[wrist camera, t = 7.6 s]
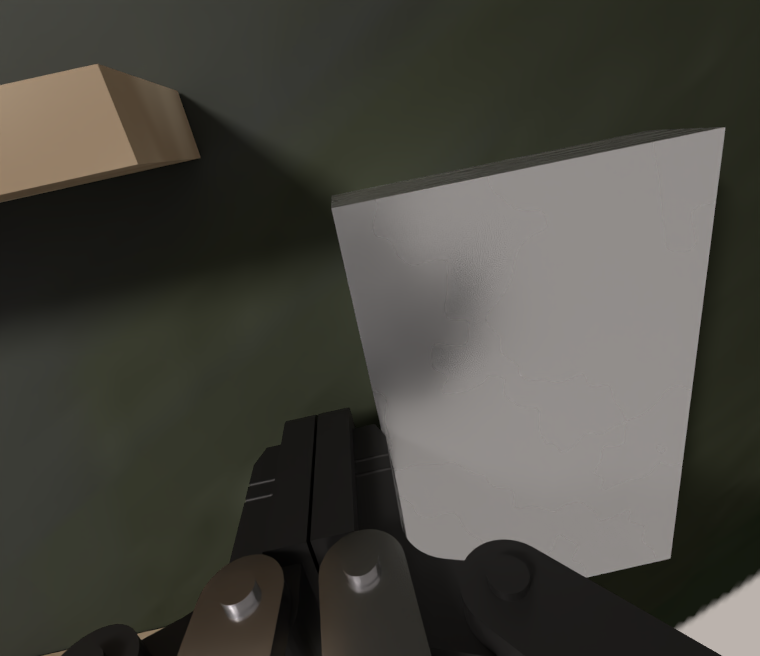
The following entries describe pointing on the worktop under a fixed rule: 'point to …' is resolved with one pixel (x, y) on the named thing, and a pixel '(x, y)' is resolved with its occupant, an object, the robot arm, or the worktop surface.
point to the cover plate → (538, 342)
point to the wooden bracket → (87, 134)
